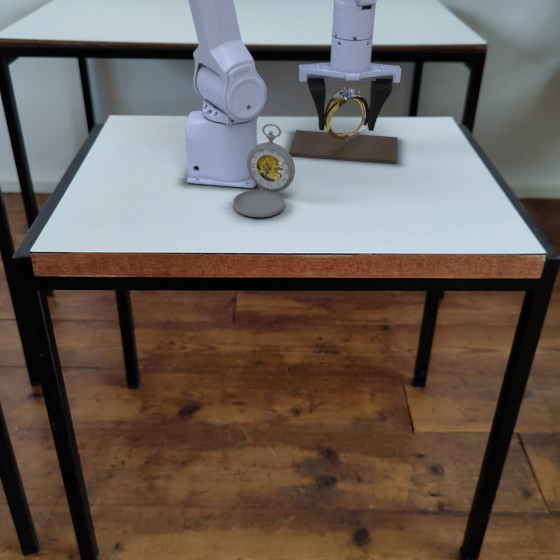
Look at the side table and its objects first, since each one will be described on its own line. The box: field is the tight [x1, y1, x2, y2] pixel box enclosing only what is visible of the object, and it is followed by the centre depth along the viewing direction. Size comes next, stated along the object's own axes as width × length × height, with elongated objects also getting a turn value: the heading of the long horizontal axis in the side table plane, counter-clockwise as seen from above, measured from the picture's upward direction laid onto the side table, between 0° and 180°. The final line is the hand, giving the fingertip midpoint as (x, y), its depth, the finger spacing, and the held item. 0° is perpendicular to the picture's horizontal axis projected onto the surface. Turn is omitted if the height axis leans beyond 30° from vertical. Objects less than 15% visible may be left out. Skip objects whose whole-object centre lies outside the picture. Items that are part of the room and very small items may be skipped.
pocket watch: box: [232, 123, 296, 218], centre depth 87 cm, size 8×8×10 cm
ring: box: [324, 86, 370, 142], centre depth 103 cm, size 7×3×8 cm, turn 105°
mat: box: [288, 129, 398, 165], centre depth 106 cm, size 16×9×1 cm, turn 82°
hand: (345, 128), depth 104 cm, fingers closed on ring, 7 cm apart
